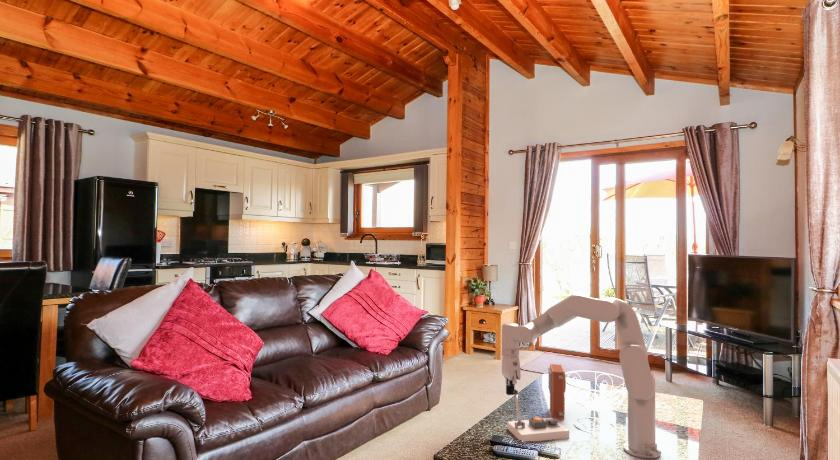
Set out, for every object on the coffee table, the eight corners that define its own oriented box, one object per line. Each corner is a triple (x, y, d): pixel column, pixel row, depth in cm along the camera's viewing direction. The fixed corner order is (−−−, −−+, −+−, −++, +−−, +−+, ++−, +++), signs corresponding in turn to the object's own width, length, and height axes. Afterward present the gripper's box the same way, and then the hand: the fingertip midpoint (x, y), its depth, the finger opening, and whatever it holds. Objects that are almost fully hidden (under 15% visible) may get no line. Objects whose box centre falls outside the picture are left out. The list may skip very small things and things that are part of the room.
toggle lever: (523, 425, 191) (518, 389, 196) (518, 426, 191) (513, 389, 196) (521, 425, 193) (516, 389, 198) (516, 426, 193) (512, 389, 198)
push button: (543, 424, 193) (543, 420, 193) (535, 425, 192) (535, 420, 192) (539, 421, 196) (539, 416, 196) (531, 422, 195) (531, 417, 195)
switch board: (569, 437, 189) (569, 424, 190) (521, 442, 185) (521, 428, 185) (552, 424, 203) (552, 411, 203) (507, 428, 198) (507, 415, 198)
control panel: (562, 408, 222) (566, 420, 208) (547, 407, 224) (550, 419, 209) (562, 363, 223) (566, 372, 208) (547, 363, 224) (550, 371, 210)
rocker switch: (557, 423, 194) (557, 420, 194) (550, 423, 193) (550, 420, 193) (552, 420, 198) (552, 418, 198) (545, 421, 197) (545, 418, 197)
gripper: (525, 355, 196) (525, 399, 195) (511, 347, 210) (511, 388, 210) (509, 356, 194) (509, 400, 194) (495, 348, 209) (495, 389, 208)
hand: (510, 394), depth 202 cm, fingers closed
